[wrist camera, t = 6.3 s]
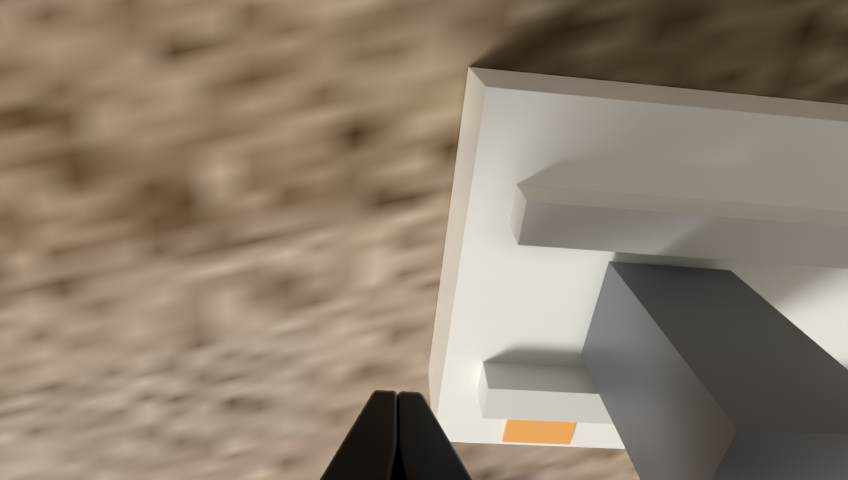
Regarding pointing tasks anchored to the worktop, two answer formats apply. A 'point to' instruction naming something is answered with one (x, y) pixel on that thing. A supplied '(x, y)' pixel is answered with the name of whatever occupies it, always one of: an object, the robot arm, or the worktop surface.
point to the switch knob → (713, 379)
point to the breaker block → (619, 233)
